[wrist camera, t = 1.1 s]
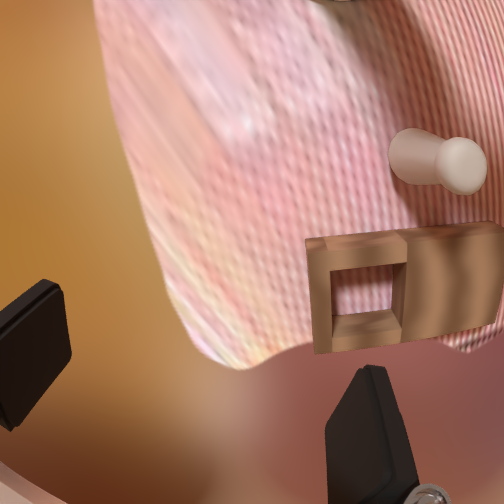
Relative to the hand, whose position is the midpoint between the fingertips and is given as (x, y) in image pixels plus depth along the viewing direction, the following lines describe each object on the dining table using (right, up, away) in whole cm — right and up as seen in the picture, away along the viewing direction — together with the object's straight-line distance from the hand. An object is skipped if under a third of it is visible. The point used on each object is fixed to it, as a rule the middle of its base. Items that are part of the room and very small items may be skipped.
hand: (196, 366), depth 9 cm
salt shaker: (+18, +14, +21) cm, 31 cm away
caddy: (+20, 0, +25) cm, 32 cm away
